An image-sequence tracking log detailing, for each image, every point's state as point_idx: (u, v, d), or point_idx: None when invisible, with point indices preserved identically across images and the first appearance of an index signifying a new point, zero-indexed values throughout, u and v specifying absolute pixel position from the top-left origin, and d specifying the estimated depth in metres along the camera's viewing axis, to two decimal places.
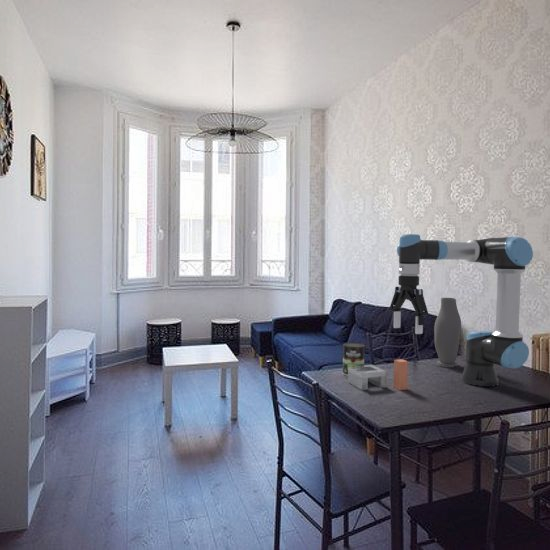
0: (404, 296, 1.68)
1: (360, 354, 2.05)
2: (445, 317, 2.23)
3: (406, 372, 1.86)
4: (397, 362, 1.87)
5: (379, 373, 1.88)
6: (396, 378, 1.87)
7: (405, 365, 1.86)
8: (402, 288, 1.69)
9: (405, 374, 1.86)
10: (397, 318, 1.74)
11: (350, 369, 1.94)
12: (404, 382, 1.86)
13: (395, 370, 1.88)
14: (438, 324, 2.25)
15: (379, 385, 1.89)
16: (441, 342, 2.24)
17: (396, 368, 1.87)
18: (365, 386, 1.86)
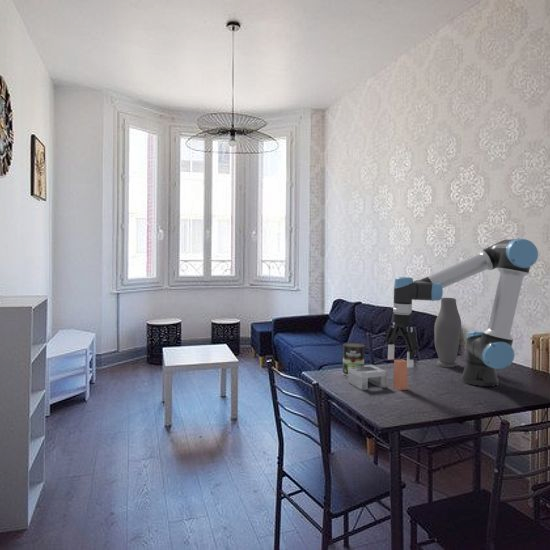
0: (397, 332, 1.87)
1: (360, 354, 2.05)
2: (445, 317, 2.23)
3: (406, 372, 1.86)
4: (397, 362, 1.87)
5: (379, 373, 1.88)
6: (396, 378, 1.87)
7: (405, 365, 1.86)
8: (396, 324, 1.89)
9: (405, 374, 1.86)
10: (391, 351, 1.93)
11: (350, 369, 1.94)
12: (404, 382, 1.86)
13: (395, 370, 1.88)
14: (438, 324, 2.25)
15: (379, 385, 1.89)
16: (441, 342, 2.24)
17: (396, 368, 1.87)
18: (365, 386, 1.86)
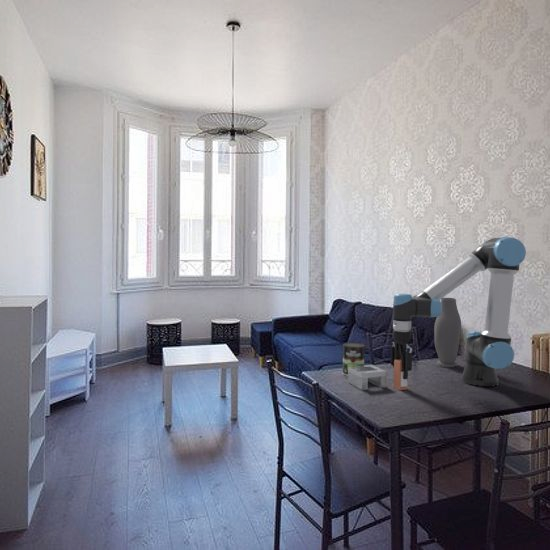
0: (397, 349, 1.88)
1: (360, 354, 2.05)
2: (445, 317, 2.23)
3: None
4: (397, 362, 1.87)
5: (379, 373, 1.88)
6: (396, 378, 1.87)
7: None
8: (395, 340, 1.89)
9: None
10: None
11: (350, 369, 1.94)
12: None
13: (395, 370, 1.88)
14: (438, 324, 2.25)
15: (379, 385, 1.89)
16: (441, 342, 2.24)
17: (396, 368, 1.87)
18: (365, 386, 1.86)
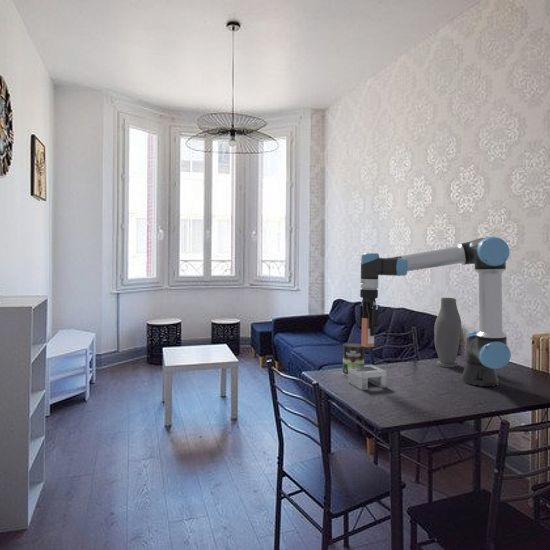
0: (365, 307, 1.92)
1: (360, 354, 2.05)
2: (445, 317, 2.23)
3: None
4: (364, 320, 1.91)
5: (379, 373, 1.88)
6: (363, 336, 1.91)
7: None
8: (363, 299, 1.93)
9: None
10: None
11: (350, 369, 1.94)
12: None
13: (362, 328, 1.92)
14: (438, 324, 2.25)
15: (379, 385, 1.89)
16: (441, 342, 2.24)
17: (363, 326, 1.91)
18: (365, 386, 1.86)
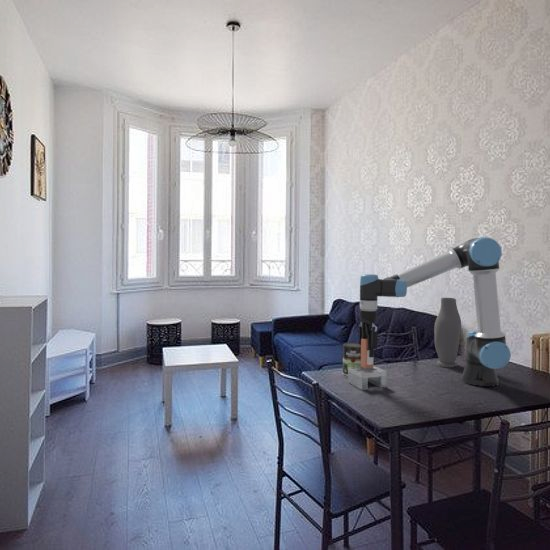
0: (364, 328, 1.92)
1: (360, 354, 2.05)
2: (445, 317, 2.23)
3: None
4: (363, 341, 1.91)
5: (379, 373, 1.88)
6: (362, 356, 1.92)
7: None
8: (362, 320, 1.94)
9: None
10: None
11: (350, 369, 1.94)
12: None
13: (362, 349, 1.92)
14: (438, 324, 2.25)
15: (379, 385, 1.89)
16: (441, 342, 2.24)
17: (362, 347, 1.92)
18: (365, 386, 1.86)
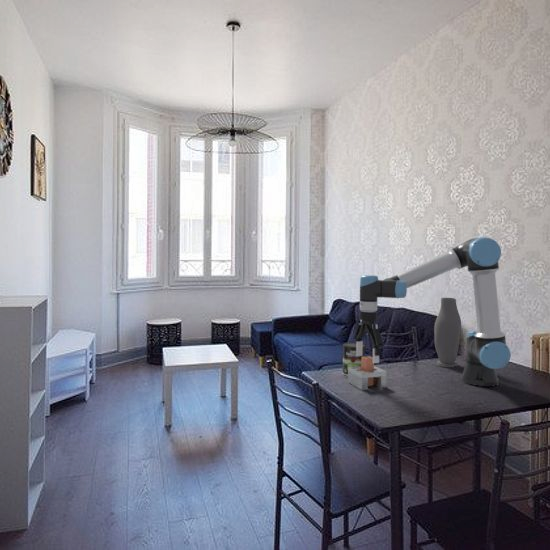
0: (364, 329, 1.92)
1: None
2: (445, 317, 2.23)
3: (372, 369, 1.91)
4: (364, 359, 1.91)
5: (379, 373, 1.88)
6: None
7: (371, 362, 1.90)
8: (363, 322, 1.93)
9: None
10: (359, 347, 1.98)
11: (350, 369, 1.94)
12: (370, 379, 1.91)
13: (362, 367, 1.93)
14: (438, 324, 2.25)
15: (379, 385, 1.89)
16: (441, 342, 2.24)
17: (363, 365, 1.92)
18: (365, 386, 1.86)
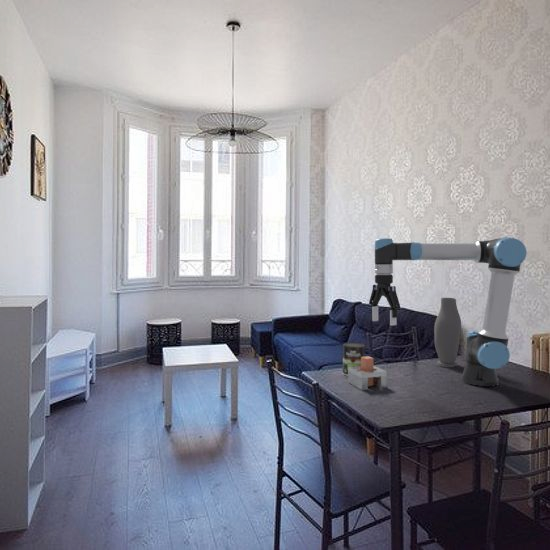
0: (380, 293, 1.92)
1: (360, 354, 2.05)
2: (445, 317, 2.23)
3: (372, 369, 1.91)
4: (363, 359, 1.91)
5: (379, 373, 1.88)
6: None
7: (370, 362, 1.91)
8: (378, 286, 1.93)
9: None
10: (375, 312, 1.98)
11: (350, 369, 1.94)
12: (370, 379, 1.91)
13: (361, 367, 1.93)
14: (438, 324, 2.25)
15: (379, 385, 1.89)
16: (441, 342, 2.24)
17: (362, 365, 1.92)
18: (365, 386, 1.86)
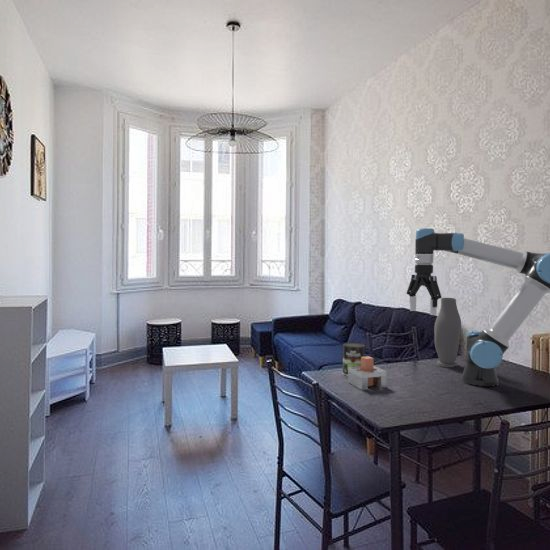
0: (420, 282, 1.92)
1: (360, 354, 2.05)
2: (445, 317, 2.23)
3: (372, 369, 1.91)
4: (363, 359, 1.91)
5: (379, 373, 1.88)
6: None
7: (370, 362, 1.91)
8: (418, 276, 1.94)
9: None
10: (413, 302, 1.98)
11: (350, 369, 1.94)
12: (370, 379, 1.91)
13: (361, 367, 1.93)
14: (438, 324, 2.25)
15: (379, 385, 1.89)
16: (441, 342, 2.24)
17: (362, 365, 1.92)
18: (365, 386, 1.86)
